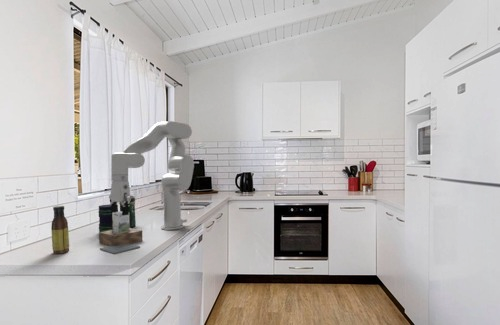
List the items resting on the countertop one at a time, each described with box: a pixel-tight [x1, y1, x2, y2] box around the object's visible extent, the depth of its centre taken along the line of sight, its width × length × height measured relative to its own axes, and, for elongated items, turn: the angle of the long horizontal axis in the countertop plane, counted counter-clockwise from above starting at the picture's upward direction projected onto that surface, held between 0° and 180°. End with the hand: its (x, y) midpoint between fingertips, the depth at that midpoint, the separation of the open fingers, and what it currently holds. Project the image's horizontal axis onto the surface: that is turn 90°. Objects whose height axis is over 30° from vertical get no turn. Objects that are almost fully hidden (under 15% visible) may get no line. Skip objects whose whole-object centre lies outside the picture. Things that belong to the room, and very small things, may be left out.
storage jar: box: [98, 204, 113, 233], centre depth 174 cm, size 10×10×15 cm
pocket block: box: [98, 227, 143, 246], centre depth 154 cm, size 14×14×5 cm
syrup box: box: [112, 210, 129, 234], centre depth 154 cm, size 6×6×14 cm
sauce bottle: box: [51, 205, 70, 255], centre depth 137 cm, size 7×6×20 cm
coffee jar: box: [118, 195, 137, 228], centre depth 189 cm, size 10×8×19 cm
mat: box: [99, 243, 141, 255], centre depth 141 cm, size 12×12×1 cm
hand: (119, 214), depth 153 cm, fingers open, 9 cm apart
